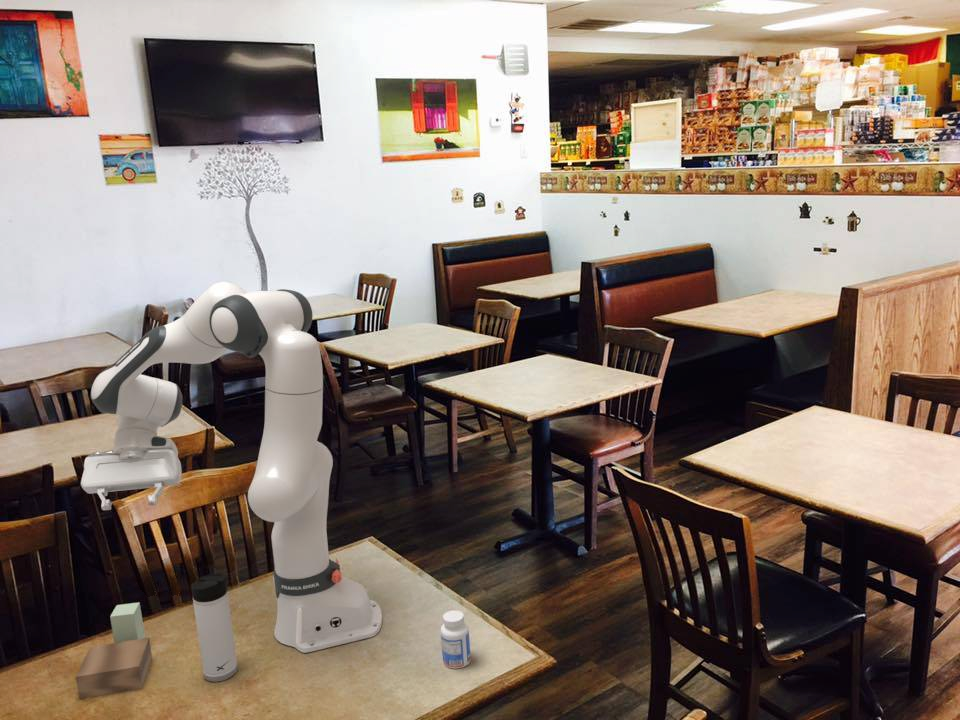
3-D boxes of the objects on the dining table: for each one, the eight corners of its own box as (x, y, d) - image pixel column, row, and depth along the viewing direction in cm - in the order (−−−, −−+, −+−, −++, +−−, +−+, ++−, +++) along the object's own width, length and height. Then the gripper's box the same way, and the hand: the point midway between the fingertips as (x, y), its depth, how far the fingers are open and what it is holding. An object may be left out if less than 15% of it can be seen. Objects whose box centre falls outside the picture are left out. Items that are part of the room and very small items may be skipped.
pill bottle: (457, 649, 154) (454, 604, 151) (476, 660, 150) (473, 614, 148) (436, 662, 150) (433, 616, 148) (455, 673, 146) (452, 626, 144)
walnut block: (152, 659, 156) (148, 637, 155) (142, 689, 146) (138, 666, 145) (93, 669, 154) (89, 647, 153) (79, 700, 144) (75, 676, 143)
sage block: (145, 641, 162) (139, 602, 160) (140, 653, 158) (133, 613, 156) (123, 644, 162) (116, 605, 160) (116, 656, 157) (110, 616, 155)
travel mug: (229, 683, 146) (215, 587, 142) (197, 681, 148) (183, 585, 143) (245, 664, 152) (233, 570, 148) (214, 661, 154) (201, 569, 149)
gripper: (80, 446, 169) (72, 506, 162) (178, 438, 172) (174, 496, 165) (90, 459, 174) (82, 517, 167) (185, 450, 177) (181, 507, 170)
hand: (129, 506), depth 166 cm, fingers open, 8 cm apart
